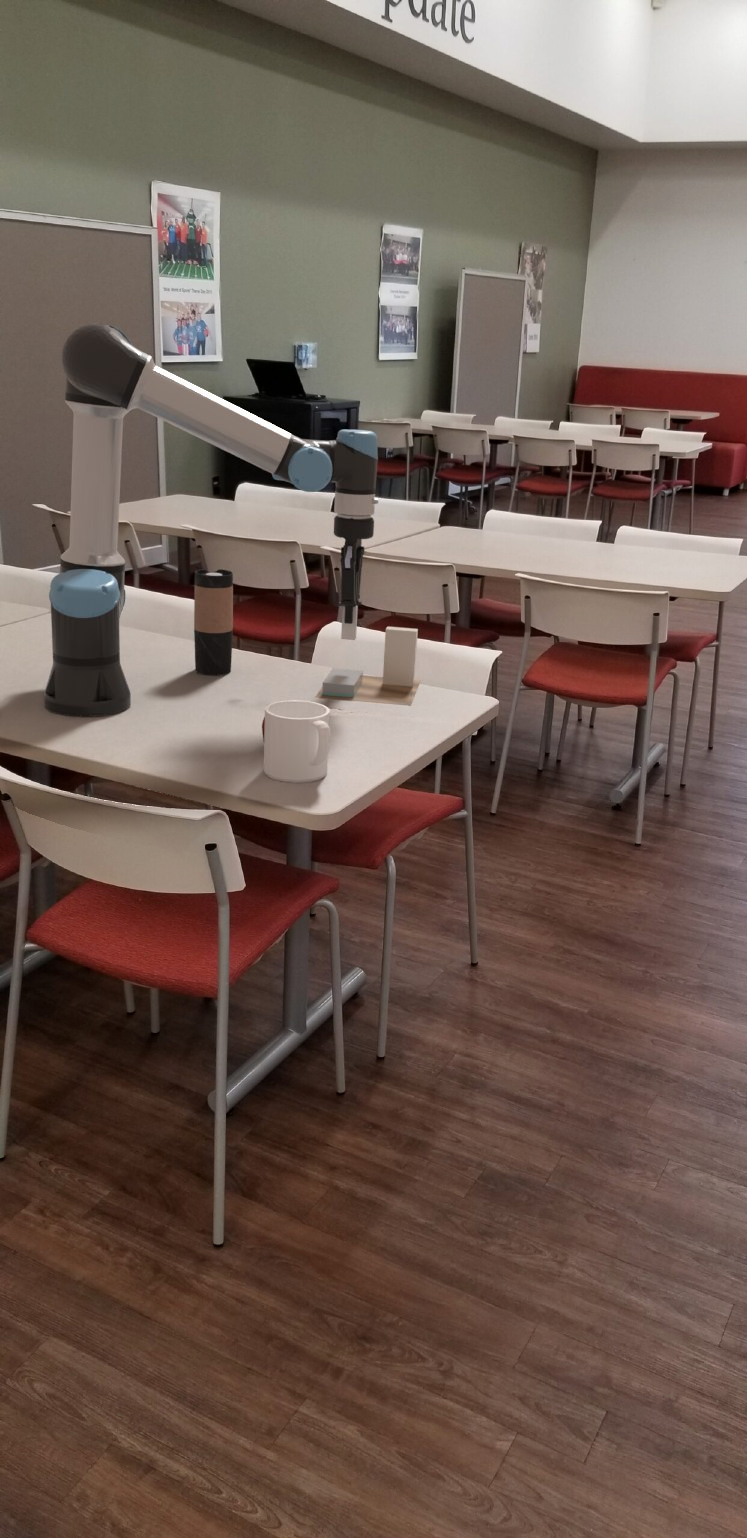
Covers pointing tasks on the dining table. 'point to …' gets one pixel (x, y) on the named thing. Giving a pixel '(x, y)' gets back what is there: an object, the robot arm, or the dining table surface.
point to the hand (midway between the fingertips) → (348, 638)
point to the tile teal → (342, 682)
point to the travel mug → (213, 621)
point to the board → (380, 692)
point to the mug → (296, 741)
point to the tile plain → (400, 656)
